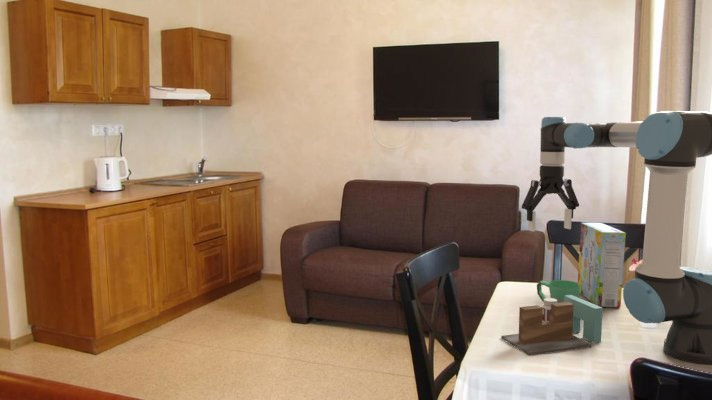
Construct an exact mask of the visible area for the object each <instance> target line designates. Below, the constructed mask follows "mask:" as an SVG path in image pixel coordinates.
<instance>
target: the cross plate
mask: <svg viewBox="0 0 712 400" xmlns="http://www.w3.org/2000/svg"><path fill="white" fill-rule="evenodd" d="M564 302H570V303H572V304H574V309H573V333H580V332H581V321H583V322H582V324H583V325H582V338H583V339H585V340H587V341H589V342H591V343H594V344H596V343H602V330H603V329H602V328H603V326H602V325H603V324H602V323H603V310H604V309H603V308H604V307H599V306H597V305H595V304H594V303H593V302H591V301H590V302H589V301H587V300H584V299H582V298H579V296H578V297H575V296H573V295H565V296H564ZM573 333H572V334H573Z"/></svg>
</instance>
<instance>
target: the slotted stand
mask: <svg viewBox="0 0 712 400" xmlns="http://www.w3.org/2000/svg"><path fill="white" fill-rule="evenodd" d="M573 309H574V304H572V303H570V302H562V303H553V304H551V317H550V321H544V322H542V306H540V305H538V304H536V305H528V306H527V305H526V306H519V311H518V312H519V314H518V315H519V316H518V333H515V334H514V333H513V334H503V335H501V336H500V337H501V338H502V340H503V339H504V340H503V341H505V342H506V341H507V342H506V343H508V344H509V343H510V345H511V346H512V347H514V346H515V348H516V349H517V348H518V351H521V352H522V353H524V354H526V355H527V356H535V355H541V354H550V353H558V352H565V351H574V350H579V349H588V348H592V343H590V342H588V341H586V340H584V339H582V338H580V337H577V336H576V335H575V334H573ZM501 338H500V339H501Z"/></svg>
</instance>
